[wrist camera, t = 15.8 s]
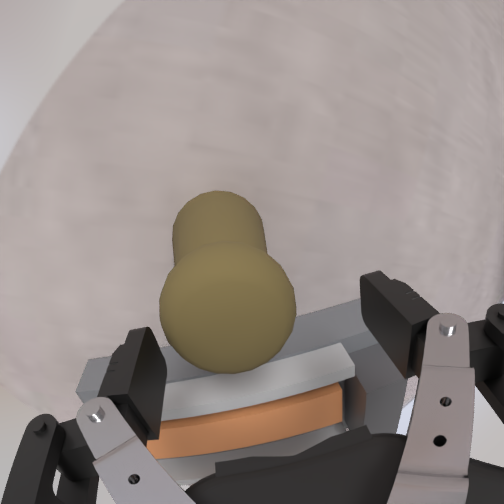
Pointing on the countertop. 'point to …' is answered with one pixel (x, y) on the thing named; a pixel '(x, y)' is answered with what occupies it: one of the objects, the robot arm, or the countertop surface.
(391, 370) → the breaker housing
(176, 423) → the lever
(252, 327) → the olive pawn figure
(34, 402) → the countertop surface
